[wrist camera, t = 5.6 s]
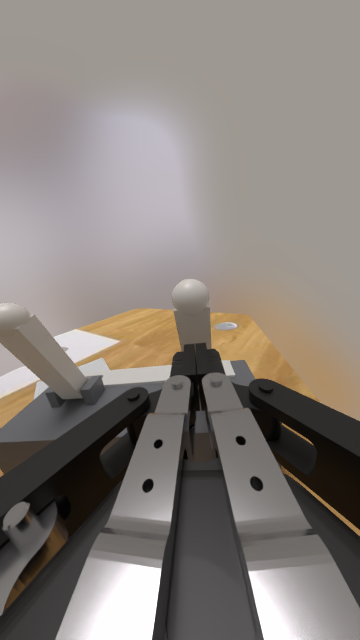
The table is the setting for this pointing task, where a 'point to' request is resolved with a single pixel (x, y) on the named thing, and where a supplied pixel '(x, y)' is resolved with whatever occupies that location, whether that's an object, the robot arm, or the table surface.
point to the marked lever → (192, 312)
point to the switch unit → (102, 387)
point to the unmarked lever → (39, 351)
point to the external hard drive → (89, 367)
